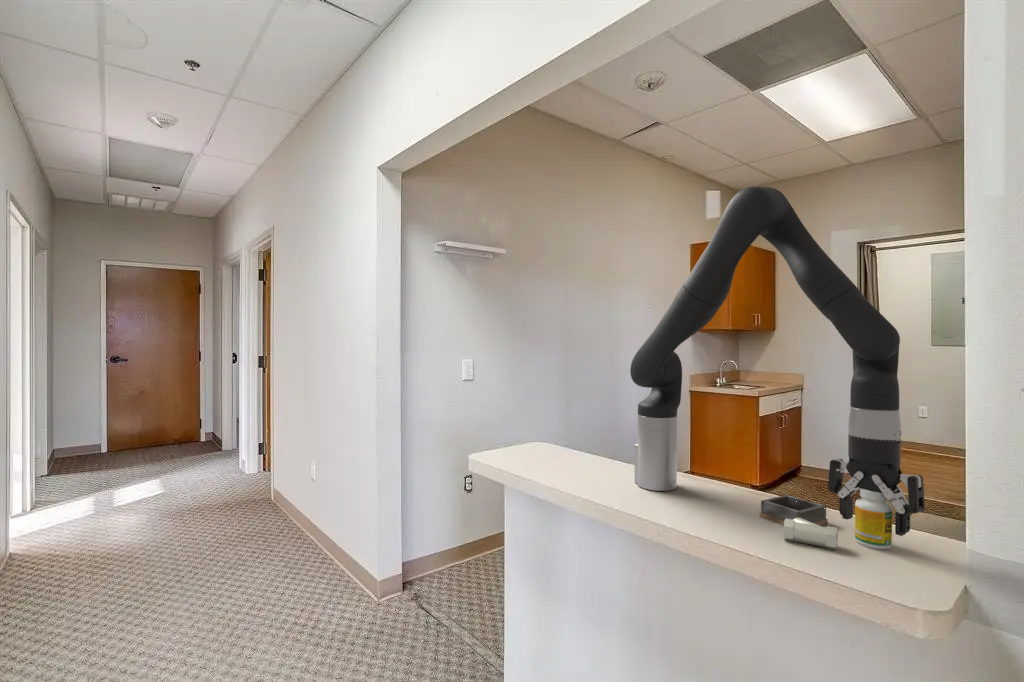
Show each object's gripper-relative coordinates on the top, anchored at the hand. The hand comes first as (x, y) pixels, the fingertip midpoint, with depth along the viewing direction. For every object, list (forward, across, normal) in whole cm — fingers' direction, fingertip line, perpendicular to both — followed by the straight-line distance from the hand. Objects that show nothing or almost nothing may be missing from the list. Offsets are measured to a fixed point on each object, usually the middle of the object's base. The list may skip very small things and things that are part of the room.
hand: (873, 526), depth 90 cm
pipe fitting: (+4, -6, -8) cm, 11 cm away
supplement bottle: (+3, 0, 0) cm, 3 cm away
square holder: (+3, -14, -1) cm, 14 cm away
